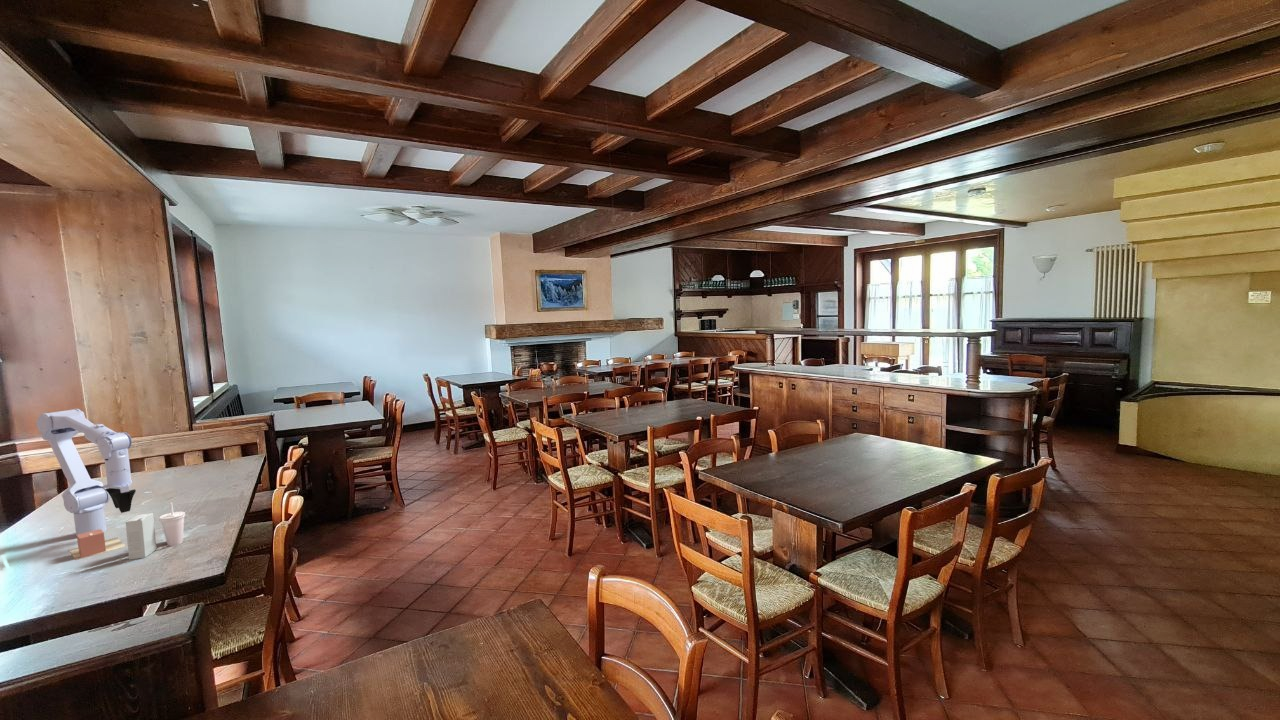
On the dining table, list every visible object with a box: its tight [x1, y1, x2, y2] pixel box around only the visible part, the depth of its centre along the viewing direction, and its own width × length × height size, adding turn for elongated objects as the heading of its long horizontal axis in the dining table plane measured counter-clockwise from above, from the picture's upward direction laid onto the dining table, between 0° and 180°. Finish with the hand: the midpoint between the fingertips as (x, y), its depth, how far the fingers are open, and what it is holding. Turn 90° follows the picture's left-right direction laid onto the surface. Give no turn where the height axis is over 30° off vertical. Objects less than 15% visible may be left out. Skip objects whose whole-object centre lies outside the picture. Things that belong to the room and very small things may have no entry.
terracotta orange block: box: [76, 529, 106, 559], centre depth 162 cm, size 5×5×6 cm
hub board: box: [68, 537, 127, 561], centre depth 166 cm, size 13×11×4 cm
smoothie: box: [158, 501, 186, 547], centre depth 169 cm, size 6×6×14 cm
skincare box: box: [125, 512, 158, 560], centre depth 161 cm, size 6×4×12 cm
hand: (122, 509), depth 174 cm, fingers open, 7 cm apart
